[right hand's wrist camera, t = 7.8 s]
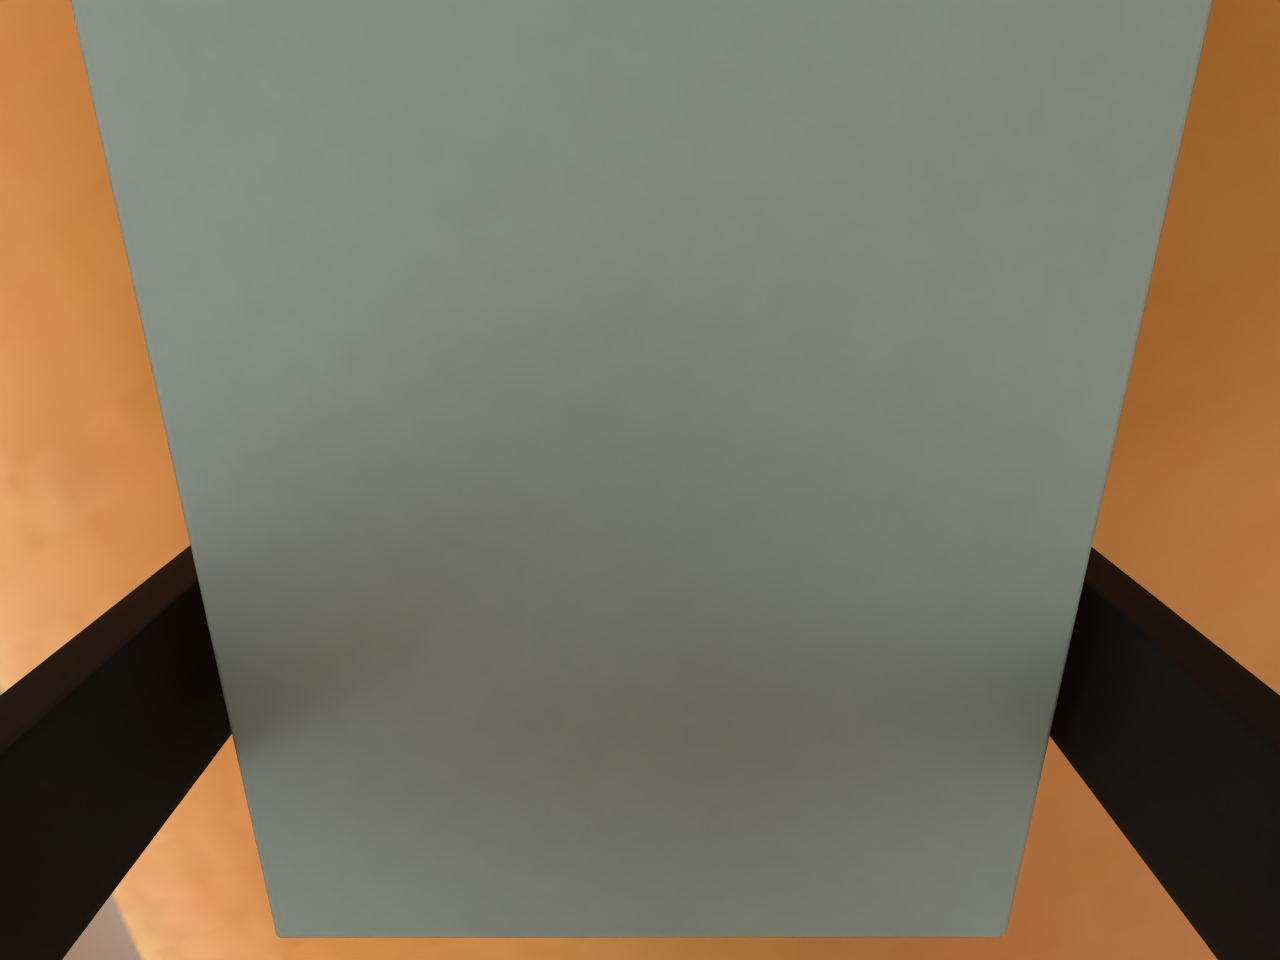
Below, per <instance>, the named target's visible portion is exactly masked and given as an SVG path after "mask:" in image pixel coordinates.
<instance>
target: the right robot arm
mask: <svg viewBox="0 0 1280 960" xmlns="http://www.w3.org/2000/svg"><path fill="white" fill-rule="evenodd" d="M231 734H232V731H231V726H230V722H229V717H228V712H227V708H226V703H225V699H224V694H223V690H222V685H221V681H220V676H219V672H218V667H217V663H216V658H215V654H214V649H213V644H212V640H211V635H210V631H209V626H208V622H207V617H206V613H205V608H204V604H203V599H202V595H201V590H200V586H199V581H198V576H197V572H196V567H195V563H194V558H193V554H192V549H191V545H190V546H189V547H188V548H186V549H185V550H184V551H183V552H181V553H180V554H179V555H178V556H176V557H175V558H174V559H172V560H171V561H170V562H169V563H167V564H166V565H165V566H164V567H162V568H161V569H160V570H159V571H157V572H156V573H155V574H153V575H152V576H151V577H150V578H148V579H147V580H146V581H145V582H143V583H142V584H141V585H140V586H138V587H137V588H136V589H135V590H133V591H132V592H131V593H129V594H128V595H127V596H126V597H124V598H123V599H122V600H121V601H119V602H118V603H117V604H116V605H114V606H113V607H112V608H110V609H109V610H108V611H107V612H105V613H104V614H103V615H102V616H100V617H99V618H98V619H97V620H95V621H94V622H93V623H92V624H90V625H89V626H88V627H86V628H85V629H84V630H83V631H81V632H80V633H79V634H78V635H76V636H75V637H74V638H73V639H71V640H70V641H69V642H67V643H66V644H65V645H64V646H62V647H61V648H60V649H59V650H57V651H56V652H55V653H54V654H52V655H51V656H50V657H49V658H47V659H46V660H45V661H43V662H42V663H41V664H40V665H38V666H37V667H36V668H35V669H33V670H32V671H31V672H30V673H28V674H27V675H26V676H24V677H23V678H22V679H21V680H19V681H18V682H17V683H16V684H14V685H13V686H12V687H11V688H9V689H8V690H7V691H6V692H4V693H3V694H2V695H0V960H62V959H63V958H64V956H65V955H66V954H67V952H68V951H69V950H70V948H71V947H72V946H73V944H74V943H75V942H76V940H77V939H78V938H79V936H80V935H81V934H82V932H83V931H84V930H85V928H86V927H87V926H88V924H89V923H90V922H91V920H92V919H93V918H94V916H95V915H96V914H97V912H98V911H99V910H100V908H101V907H102V906H103V904H104V903H105V902H106V900H107V899H108V898H109V896H110V895H111V894H112V892H113V891H114V890H115V888H116V887H117V886H118V884H119V883H120V882H121V880H122V879H123V878H124V876H125V875H126V874H127V872H128V871H129V870H130V868H131V867H132V866H133V864H134V863H135V862H136V860H137V859H138V858H139V856H140V855H141V854H142V852H143V851H144V850H145V848H146V847H147V846H148V844H149V843H150V842H151V840H152V839H153V838H154V836H155V835H156V834H157V832H158V831H159V830H160V828H161V827H162V826H163V824H164V823H165V822H166V820H167V819H168V818H169V817H170V815H171V814H172V813H173V811H174V810H175V809H176V807H177V806H178V805H179V803H180V802H181V801H182V799H183V798H184V797H185V795H186V794H187V793H188V791H189V790H190V789H191V787H192V786H193V785H194V783H195V782H196V781H197V779H198V778H199V777H200V775H201V774H202V773H203V771H204V770H205V769H206V767H207V766H208V765H209V763H210V762H211V761H212V759H213V758H214V757H215V755H216V754H217V753H218V751H219V750H220V749H221V747H222V746H223V745H224V743H225V742H226V741H227V739H228V738H229V737H230V735H231ZM1050 737H1051V738H1052V739H1053V741H1054V742H1055V743H1056V745H1057V746H1058V747H1059V749H1060V750H1061V751H1062V753H1063V754H1064V755H1065V757H1066V758H1067V759H1068V761H1069V762H1070V763H1071V765H1072V766H1073V767H1074V769H1075V770H1076V771H1077V773H1078V774H1079V775H1080V777H1081V778H1082V779H1083V781H1084V782H1085V783H1086V785H1087V786H1088V787H1089V789H1090V790H1091V791H1092V793H1093V794H1094V795H1095V797H1096V798H1097V799H1098V801H1099V802H1100V803H1101V805H1102V806H1103V807H1104V809H1105V810H1106V811H1107V813H1108V814H1109V815H1110V817H1111V818H1112V819H1113V820H1114V822H1115V823H1116V824H1117V826H1118V827H1119V828H1120V830H1121V831H1122V832H1123V834H1124V835H1125V836H1126V838H1127V839H1128V840H1129V842H1130V843H1131V844H1132V846H1133V847H1134V848H1135V850H1136V851H1137V852H1138V854H1139V855H1140V856H1141V858H1142V859H1143V860H1144V862H1145V863H1146V864H1147V866H1148V867H1149V868H1150V870H1151V871H1152V872H1153V874H1154V875H1155V876H1156V878H1157V879H1158V880H1159V882H1160V883H1161V884H1162V886H1163V887H1164V888H1165V890H1166V891H1167V892H1168V894H1169V895H1170V896H1171V898H1172V899H1173V900H1174V902H1175V903H1176V904H1177V906H1178V907H1179V908H1180V910H1181V911H1182V912H1183V914H1184V915H1185V916H1186V918H1187V919H1188V920H1189V922H1190V923H1191V924H1192V926H1193V927H1194V928H1195V930H1196V931H1197V932H1198V934H1199V935H1200V936H1201V938H1202V939H1203V940H1204V942H1205V943H1206V944H1207V946H1208V947H1209V948H1210V950H1211V951H1212V952H1213V954H1214V955H1215V956H1216V958H1217V959H1218V960H1280V695H1278V694H1277V693H1276V692H1274V691H1273V690H1272V689H1271V688H1269V687H1268V686H1267V685H1266V684H1264V683H1263V682H1262V681H1261V680H1259V679H1258V678H1257V677H1256V676H1254V675H1253V674H1252V673H1250V672H1249V671H1248V670H1247V669H1245V668H1244V667H1243V666H1242V665H1240V664H1239V663H1238V662H1237V661H1235V660H1234V659H1233V658H1231V657H1230V656H1229V655H1228V654H1226V653H1225V652H1224V651H1223V650H1221V649H1220V648H1219V647H1218V646H1216V645H1215V644H1214V643H1213V642H1211V641H1210V640H1209V639H1207V638H1206V637H1205V636H1204V635H1202V634H1201V633H1200V632H1199V631H1197V630H1196V629H1195V628H1194V627H1192V626H1191V625H1190V624H1188V623H1187V622H1186V621H1185V620H1183V619H1182V618H1181V617H1180V616H1178V615H1177V614H1176V613H1175V612H1173V611H1172V610H1171V609H1170V608H1168V607H1167V606H1166V605H1164V604H1163V603H1162V602H1161V601H1159V600H1158V599H1157V598H1156V597H1154V596H1153V595H1152V594H1151V593H1149V592H1148V591H1147V590H1145V589H1144V588H1143V587H1142V586H1140V585H1139V584H1138V583H1137V582H1135V581H1134V580H1133V579H1132V578H1130V577H1129V576H1128V575H1127V574H1125V573H1124V572H1123V571H1121V570H1120V569H1119V568H1118V567H1116V566H1115V565H1114V564H1113V563H1111V562H1110V561H1109V560H1108V559H1106V558H1105V557H1104V556H1102V555H1101V554H1100V553H1099V552H1097V551H1096V550H1095V549H1094V548H1092V547H1091V550H1090V555H1089V559H1088V564H1087V568H1086V573H1085V577H1084V582H1083V586H1082V591H1081V595H1080V600H1079V604H1078V609H1077V613H1076V618H1075V623H1074V627H1073V632H1072V636H1071V641H1070V645H1069V650H1068V654H1067V659H1066V663H1065V668H1064V672H1063V677H1062V681H1061V686H1060V690H1059V695H1058V699H1057V704H1056V708H1055V713H1054V717H1053V722H1052V726H1051V731H1050Z"/></svg>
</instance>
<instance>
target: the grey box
mask: <svg viewBox="0 0 1280 960" xmlns="http://www.w3.org/2000/svg"><path fill="white" fill-rule="evenodd" d="M70 1H71V5H72V10H73V14H74V19H75V23H76V28H77V32H78V37H79V41H80V46H81V50H82V55H83V60H84V64H85V69H86V73H87V78H88V82H89V87H90V91H91V96H92V100H93V105H94V109H95V114H96V118H97V123H98V128H99V132H100V137H101V141H102V146H103V150H104V155H105V159H106V164H107V168H108V173H109V177H110V182H111V186H112V191H113V196H114V200H115V205H116V209H117V214H118V218H119V223H120V227H121V232H122V236H123V241H124V245H125V250H126V254H127V259H128V264H129V268H130V273H131V277H132V282H133V286H134V291H135V295H136V300H137V304H138V309H139V313H140V318H141V323H142V327H143V332H144V336H145V341H146V345H147V350H148V354H149V359H150V363H151V368H152V372H153V377H154V381H155V386H156V391H157V395H158V400H159V404H160V409H161V413H162V418H163V422H164V427H165V431H166V436H167V440H168V445H169V449H170V454H171V459H172V463H173V468H174V472H175V477H176V481H177V486H178V490H179V495H180V499H181V504H182V508H183V513H184V517H185V522H186V527H187V531H188V536H189V540H190V545H191V549H192V554H193V558H194V563H195V567H196V572H197V576H198V581H199V586H200V590H201V595H202V599H203V604H204V608H205V613H206V617H207V622H208V626H209V631H210V635H211V640H212V644H213V649H214V654H215V658H216V663H217V667H218V672H219V676H220V681H221V685H222V690H223V694H224V699H225V703H226V708H227V712H228V717H229V722H230V726H231V731H232V735H233V740H234V744H235V749H236V753H237V758H238V762H239V767H240V771H241V776H242V780H243V785H244V790H245V794H246V799H247V803H248V808H249V812H250V817H251V821H252V826H253V830H254V835H255V839H256V844H257V849H258V853H259V858H260V862H261V867H262V871H263V876H264V880H265V885H266V889H267V894H268V898H269V903H270V907H271V912H272V917H273V921H274V926H275V930H276V935H277V936H278V937H280V938H585V937H1003V936H1004V935H1005V934H1006V929H1007V925H1008V920H1009V916H1010V911H1011V907H1012V902H1013V898H1014V893H1015V889H1016V884H1017V880H1018V875H1019V871H1020V866H1021V862H1022V857H1023V853H1024V848H1025V844H1026V839H1027V835H1028V830H1029V826H1030V821H1031V817H1032V812H1033V808H1034V803H1035V798H1036V794H1037V789H1038V785H1039V780H1040V776H1041V771H1042V767H1043V762H1044V758H1045V753H1046V749H1047V744H1048V740H1049V735H1050V731H1051V726H1052V722H1053V717H1054V713H1055V708H1056V704H1057V699H1058V695H1059V690H1060V686H1061V681H1062V677H1063V672H1064V668H1065V663H1066V659H1067V654H1068V650H1069V645H1070V641H1071V636H1072V632H1073V627H1074V623H1075V618H1076V613H1077V609H1078V604H1079V600H1080V595H1081V591H1082V586H1083V582H1084V577H1085V573H1086V568H1087V564H1088V559H1089V555H1090V550H1091V546H1092V541H1093V537H1094V532H1095V528H1096V523H1097V519H1098V514H1099V510H1100V505H1101V501H1102V496H1103V492H1104V487H1105V483H1106V478H1107V474H1108V469H1109V465H1110V460H1111V456H1112V451H1113V447H1114V442H1115V438H1116V433H1117V428H1118V424H1119V419H1120V415H1121V410H1122V406H1123V401H1124V397H1125V392H1126V388H1127V383H1128V379H1129V374H1130V370H1131V365H1132V361H1133V356H1134V352H1135V347H1136V343H1137V338H1138V334H1139V329H1140V325H1141V320H1142V316H1143V311H1144V307H1145V302H1146V298H1147V293H1148V289H1149V284H1150V280H1151V275H1152V271H1153V266H1154V262H1155V257H1156V252H1157V248H1158V243H1159V239H1160V234H1161V230H1162V225H1163V221H1164V216H1165V212H1166V207H1167V203H1168V198H1169V194H1170V189H1171V185H1172V180H1173V176H1174V171H1175V167H1176V162H1177V158H1178V153H1179V149H1180V144H1181V140H1182V135H1183V131H1184V126H1185V122H1186V117H1187V113H1188V108H1189V104H1190V99H1191V95H1192V90H1193V86H1194V81H1195V77H1196V72H1197V67H1198V63H1199V58H1200V54H1201V49H1202V45H1203V40H1204V36H1205V31H1206V27H1207V22H1208V18H1209V13H1210V9H1211V4H1212V0H70Z"/></svg>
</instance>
